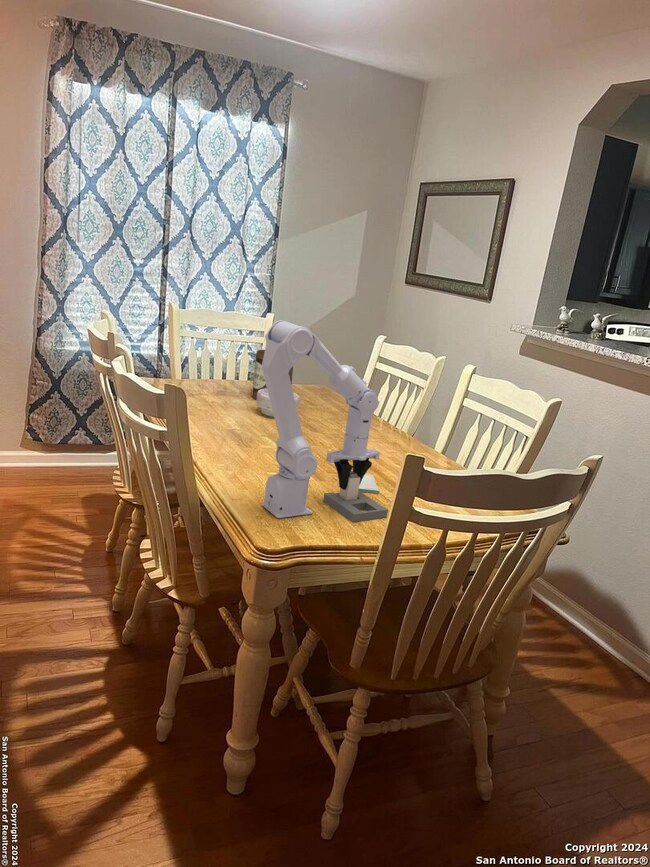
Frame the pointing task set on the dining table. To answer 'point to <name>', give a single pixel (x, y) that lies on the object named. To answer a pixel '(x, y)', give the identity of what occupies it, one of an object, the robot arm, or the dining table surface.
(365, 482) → the hard drive
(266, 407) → the paper bowls
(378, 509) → the socket panel
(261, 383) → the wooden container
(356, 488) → the plug
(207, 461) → the dining table surface
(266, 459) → the dining table surface
